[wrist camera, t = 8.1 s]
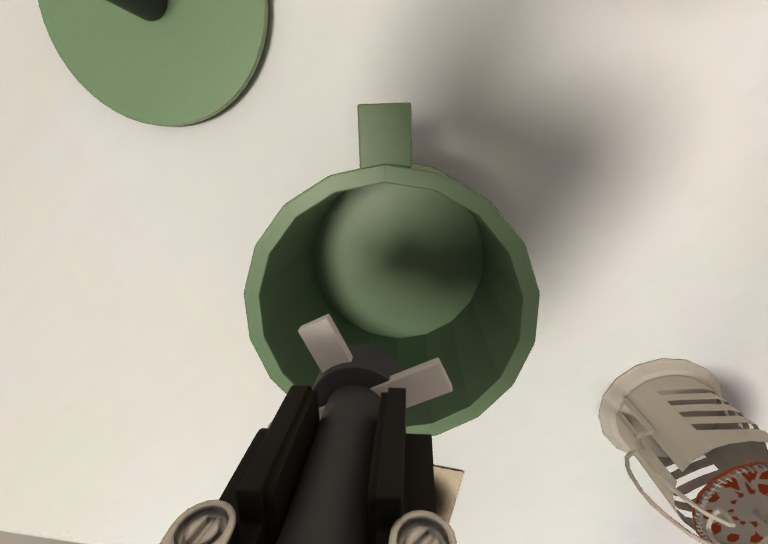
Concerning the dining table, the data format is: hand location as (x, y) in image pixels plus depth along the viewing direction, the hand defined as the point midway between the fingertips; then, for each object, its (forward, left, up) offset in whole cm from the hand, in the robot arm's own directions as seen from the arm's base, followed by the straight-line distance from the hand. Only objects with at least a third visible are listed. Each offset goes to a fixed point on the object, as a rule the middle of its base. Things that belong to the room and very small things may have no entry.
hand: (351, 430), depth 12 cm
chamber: (0, +1, -20) cm, 20 cm away
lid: (-18, -15, -19) cm, 31 cm away
